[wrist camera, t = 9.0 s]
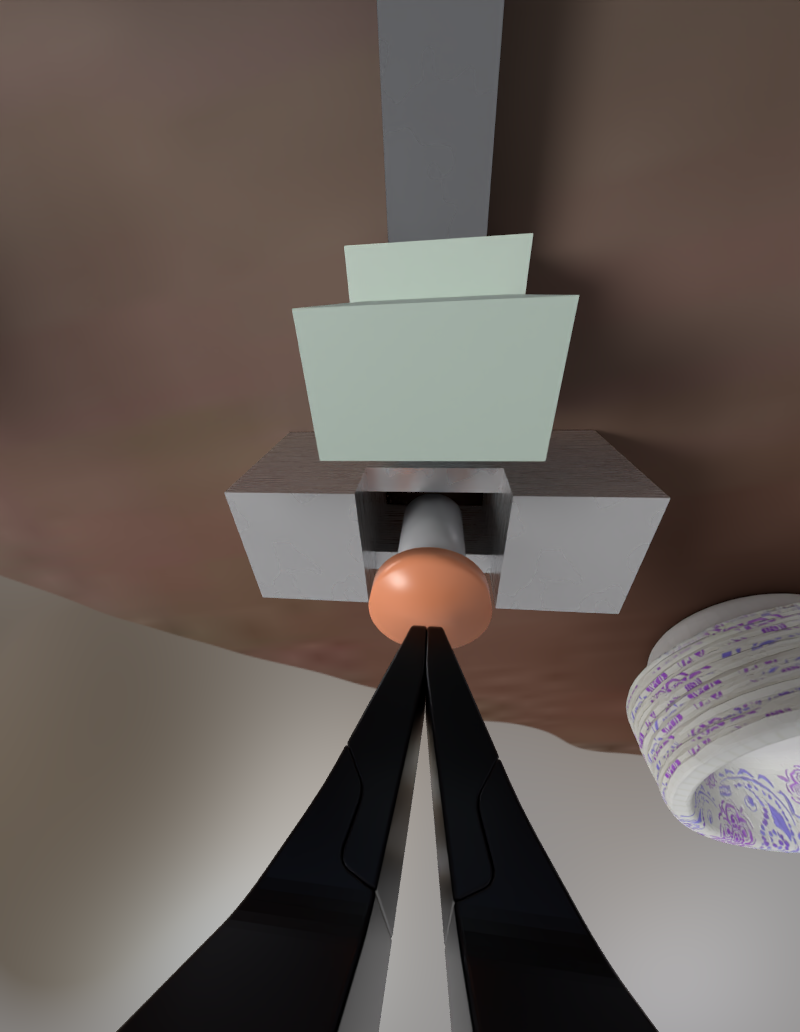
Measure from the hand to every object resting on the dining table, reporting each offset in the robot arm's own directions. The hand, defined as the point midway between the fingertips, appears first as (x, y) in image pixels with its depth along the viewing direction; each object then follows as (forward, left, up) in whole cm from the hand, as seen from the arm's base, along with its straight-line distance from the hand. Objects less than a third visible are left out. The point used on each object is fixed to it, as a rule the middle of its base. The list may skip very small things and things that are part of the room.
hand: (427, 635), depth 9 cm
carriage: (-6, 0, -9) cm, 11 cm away
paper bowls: (+12, +19, -10) cm, 24 cm away
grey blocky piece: (0, 0, -9) cm, 9 cm away
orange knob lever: (0, 0, -6) cm, 6 cm away
